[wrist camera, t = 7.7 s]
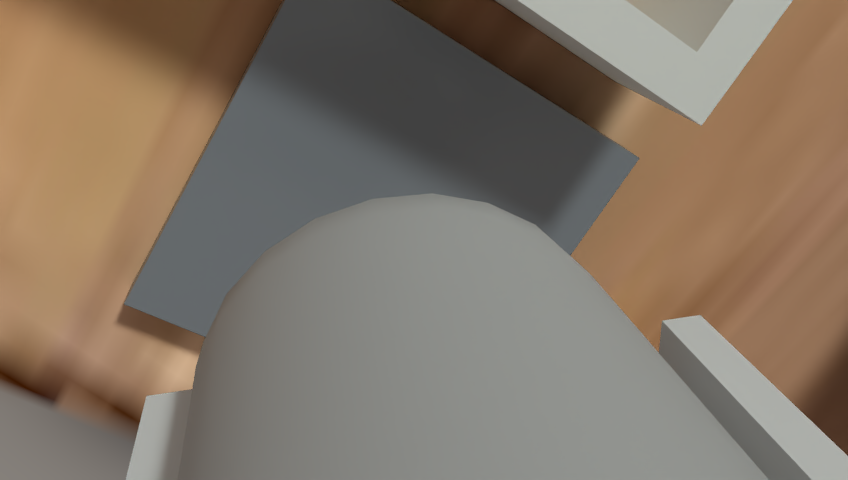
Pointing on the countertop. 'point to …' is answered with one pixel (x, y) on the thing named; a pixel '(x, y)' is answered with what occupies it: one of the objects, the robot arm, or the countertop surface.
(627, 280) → the countertop surface
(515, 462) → the cup
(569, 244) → the slate tile
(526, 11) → the cold frame
